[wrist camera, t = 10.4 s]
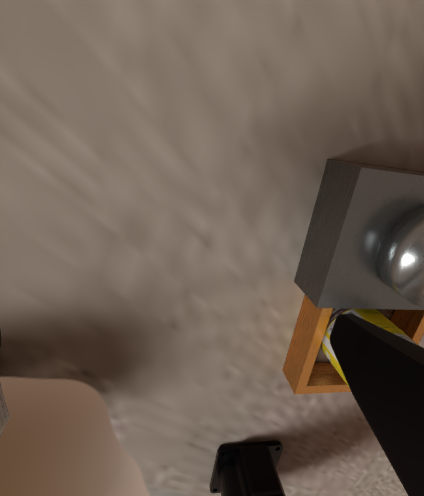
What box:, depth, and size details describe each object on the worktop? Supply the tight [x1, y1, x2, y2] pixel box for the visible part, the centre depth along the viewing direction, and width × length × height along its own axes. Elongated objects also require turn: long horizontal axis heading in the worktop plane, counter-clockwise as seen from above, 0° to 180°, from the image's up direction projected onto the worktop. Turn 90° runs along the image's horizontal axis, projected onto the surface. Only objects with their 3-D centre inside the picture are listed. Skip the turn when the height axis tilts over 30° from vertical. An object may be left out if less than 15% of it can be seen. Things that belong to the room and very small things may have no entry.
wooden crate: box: [283, 159, 424, 394], centre depth 22 cm, size 18×12×6 cm
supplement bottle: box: [320, 308, 419, 387], centre depth 21 cm, size 6×6×10 cm
